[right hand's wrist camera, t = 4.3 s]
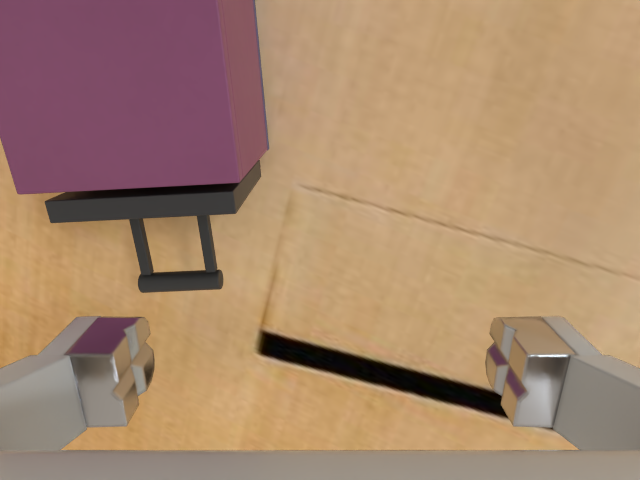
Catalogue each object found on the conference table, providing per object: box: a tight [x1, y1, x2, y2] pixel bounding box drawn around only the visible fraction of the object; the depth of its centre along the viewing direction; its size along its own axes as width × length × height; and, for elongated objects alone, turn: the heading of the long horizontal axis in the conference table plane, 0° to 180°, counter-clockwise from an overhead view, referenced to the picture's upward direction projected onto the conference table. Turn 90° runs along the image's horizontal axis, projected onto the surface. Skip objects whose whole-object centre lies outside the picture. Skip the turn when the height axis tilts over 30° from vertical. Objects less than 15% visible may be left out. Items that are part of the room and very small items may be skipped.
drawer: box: [45, 160, 261, 293], centre depth 24 cm, size 26×10×9 cm, turn 3°
